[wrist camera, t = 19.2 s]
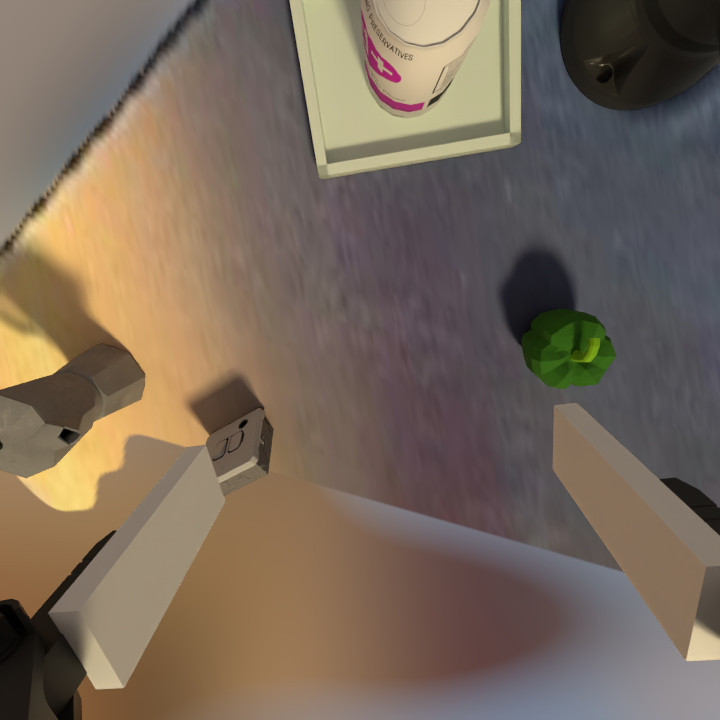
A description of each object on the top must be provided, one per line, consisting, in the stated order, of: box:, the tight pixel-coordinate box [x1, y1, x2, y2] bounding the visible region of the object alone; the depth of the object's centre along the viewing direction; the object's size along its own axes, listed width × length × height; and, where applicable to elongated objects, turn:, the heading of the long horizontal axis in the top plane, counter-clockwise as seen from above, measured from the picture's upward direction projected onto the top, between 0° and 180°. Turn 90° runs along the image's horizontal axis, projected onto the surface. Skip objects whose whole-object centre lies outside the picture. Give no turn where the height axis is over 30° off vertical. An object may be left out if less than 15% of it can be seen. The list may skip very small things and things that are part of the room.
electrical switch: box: [206, 408, 273, 496], centre depth 48 cm, size 9×5×9 cm, turn 121°
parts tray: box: [289, 0, 521, 179], centre depth 36 cm, size 20×16×2 cm
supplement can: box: [361, 0, 490, 119], centre depth 29 cm, size 8×8×15 cm
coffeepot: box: [0, 344, 145, 478], centre depth 41 cm, size 15×9×18 cm, turn 92°
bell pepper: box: [521, 309, 616, 389], centre depth 41 cm, size 8×8×10 cm
